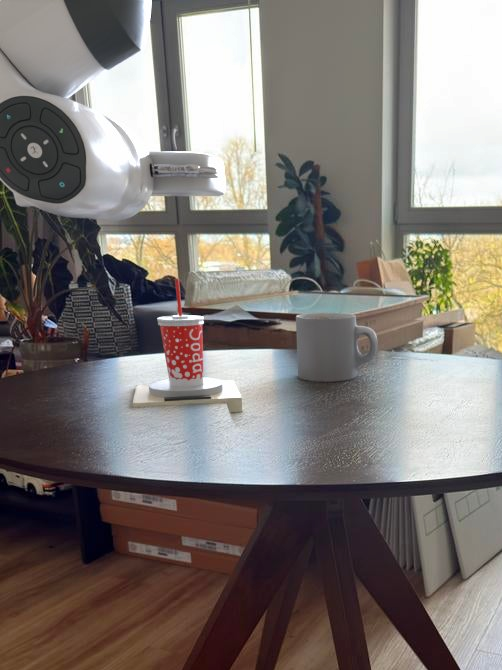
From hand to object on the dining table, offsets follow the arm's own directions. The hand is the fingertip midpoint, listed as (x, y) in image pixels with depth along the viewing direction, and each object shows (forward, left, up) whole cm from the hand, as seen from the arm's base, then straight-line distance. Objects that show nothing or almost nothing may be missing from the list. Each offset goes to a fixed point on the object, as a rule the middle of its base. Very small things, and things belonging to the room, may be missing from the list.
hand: (141, 181), depth 81 cm
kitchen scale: (+3, +12, -28) cm, 30 cm away
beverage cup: (+3, +12, -25) cm, 28 cm away
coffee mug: (+28, +28, -28) cm, 48 cm away
